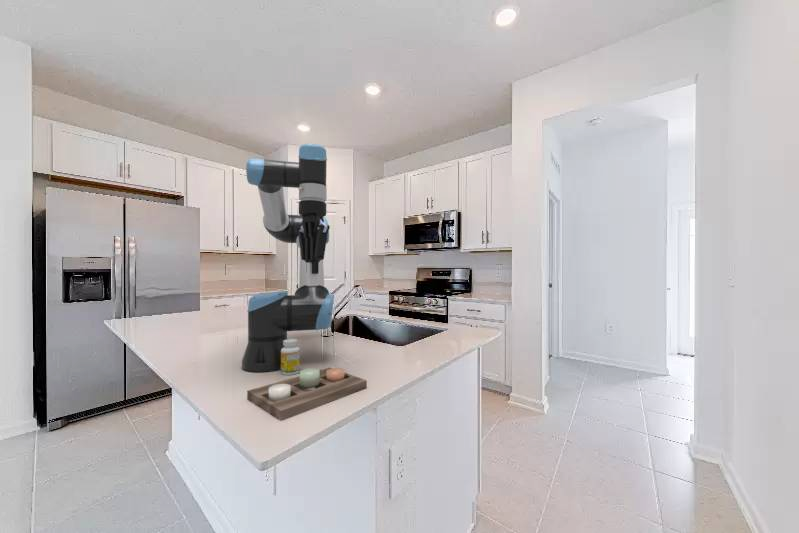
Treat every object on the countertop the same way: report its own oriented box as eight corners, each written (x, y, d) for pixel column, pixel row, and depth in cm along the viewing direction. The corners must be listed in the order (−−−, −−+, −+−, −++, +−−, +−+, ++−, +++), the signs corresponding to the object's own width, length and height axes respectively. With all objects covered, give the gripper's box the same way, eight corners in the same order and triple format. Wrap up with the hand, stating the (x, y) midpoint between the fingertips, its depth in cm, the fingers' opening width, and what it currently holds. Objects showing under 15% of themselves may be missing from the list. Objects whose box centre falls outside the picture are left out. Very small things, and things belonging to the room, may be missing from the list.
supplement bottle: (300, 374, 96) (300, 341, 96) (281, 376, 93) (281, 343, 93) (298, 368, 101) (298, 337, 100) (280, 370, 98) (280, 339, 98)
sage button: (295, 383, 81) (295, 371, 81) (312, 378, 85) (312, 367, 85) (306, 388, 78) (306, 375, 78) (323, 383, 82) (323, 371, 81)
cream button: (264, 400, 75) (264, 387, 75) (284, 394, 79) (284, 382, 79) (274, 406, 72) (275, 393, 72) (294, 400, 76) (294, 387, 76)
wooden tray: (247, 399, 78) (247, 390, 78) (329, 374, 96) (329, 367, 96) (280, 420, 67) (280, 410, 67) (366, 387, 85) (366, 380, 85)
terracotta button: (322, 382, 87) (322, 371, 87) (337, 377, 91) (337, 366, 91) (333, 386, 84) (333, 375, 84) (348, 381, 87) (348, 370, 87)
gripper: (288, 202, 92) (288, 285, 93) (314, 196, 84) (314, 287, 84) (311, 206, 98) (310, 284, 98) (337, 200, 89) (337, 286, 89)
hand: (312, 285), depth 91 cm, fingers closed
